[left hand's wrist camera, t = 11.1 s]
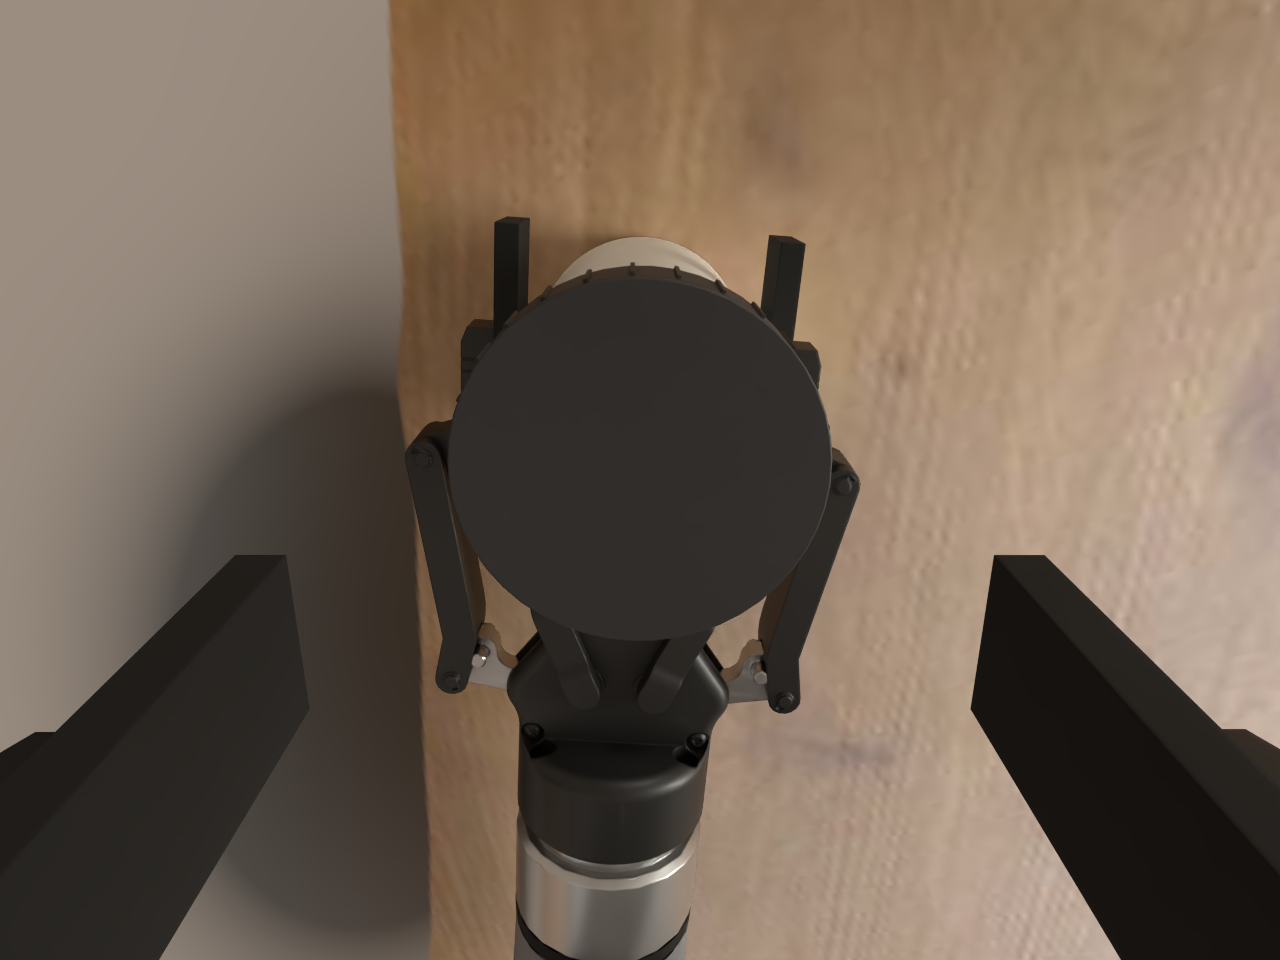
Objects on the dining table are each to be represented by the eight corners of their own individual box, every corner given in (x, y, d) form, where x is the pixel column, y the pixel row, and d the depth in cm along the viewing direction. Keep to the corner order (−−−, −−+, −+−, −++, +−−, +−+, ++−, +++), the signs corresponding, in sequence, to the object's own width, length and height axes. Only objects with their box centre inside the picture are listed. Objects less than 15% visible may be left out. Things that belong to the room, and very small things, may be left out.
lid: (489, 227, 21) (470, 235, 19) (858, 301, 22) (884, 319, 19) (444, 566, 24) (423, 609, 22) (767, 623, 25) (781, 670, 22)
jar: (557, 217, 34) (495, 263, 19) (760, 259, 35) (849, 334, 20) (526, 414, 37) (450, 586, 22) (714, 450, 37) (763, 641, 22)
